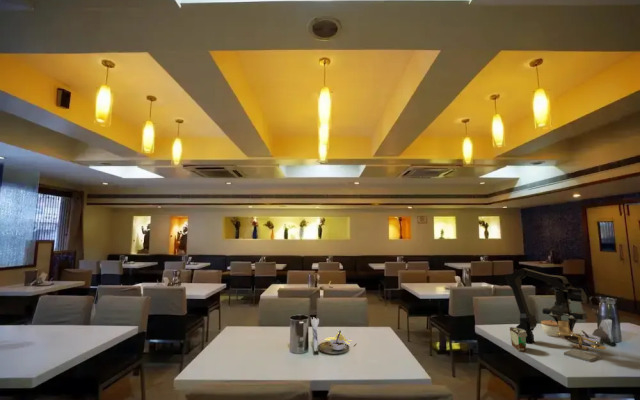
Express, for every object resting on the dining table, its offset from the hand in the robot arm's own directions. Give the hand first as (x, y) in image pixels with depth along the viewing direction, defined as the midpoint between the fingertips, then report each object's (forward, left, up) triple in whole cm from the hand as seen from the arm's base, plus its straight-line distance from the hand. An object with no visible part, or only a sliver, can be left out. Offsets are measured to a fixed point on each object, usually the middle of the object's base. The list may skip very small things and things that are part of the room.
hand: (566, 330), depth 165 cm
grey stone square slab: (+6, 0, -12) cm, 13 cm away
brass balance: (0, +14, -12) cm, 18 cm away
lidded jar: (-20, +27, -12) cm, 36 cm away
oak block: (0, 0, -1) cm, 1 cm away
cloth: (-74, -98, -12) cm, 123 cm away
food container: (-15, -16, -12) cm, 25 cm away
